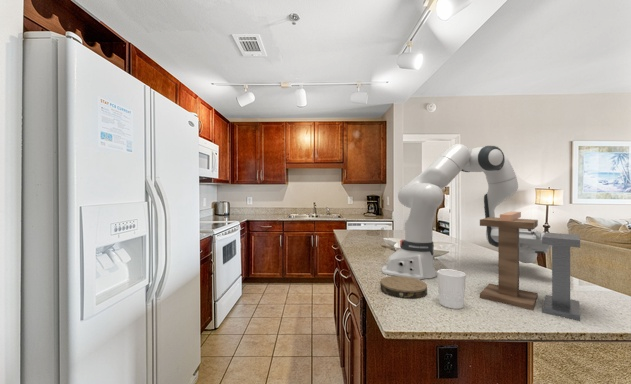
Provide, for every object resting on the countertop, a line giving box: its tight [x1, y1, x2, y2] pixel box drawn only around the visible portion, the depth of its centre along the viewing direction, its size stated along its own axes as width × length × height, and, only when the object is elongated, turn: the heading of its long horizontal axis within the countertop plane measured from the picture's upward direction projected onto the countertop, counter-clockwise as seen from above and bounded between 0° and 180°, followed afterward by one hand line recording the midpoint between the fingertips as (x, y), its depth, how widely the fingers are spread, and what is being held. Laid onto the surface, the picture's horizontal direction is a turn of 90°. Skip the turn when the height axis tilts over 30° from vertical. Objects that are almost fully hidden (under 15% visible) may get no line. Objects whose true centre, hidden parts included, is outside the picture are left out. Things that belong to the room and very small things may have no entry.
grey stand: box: [541, 231, 581, 322], centre depth 82 cm, size 14×8×22 cm, turn 137°
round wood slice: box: [379, 275, 428, 300], centre depth 98 cm, size 16×16×3 cm
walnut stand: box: [479, 216, 539, 311], centre depth 91 cm, size 14×14×26 cm
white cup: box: [436, 268, 467, 310], centre depth 85 cm, size 8×8×10 cm
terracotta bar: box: [499, 211, 522, 221], centre depth 95 cm, size 22×3×2 cm, turn 137°
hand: (518, 229), depth 107 cm, fingers open, 8 cm apart
